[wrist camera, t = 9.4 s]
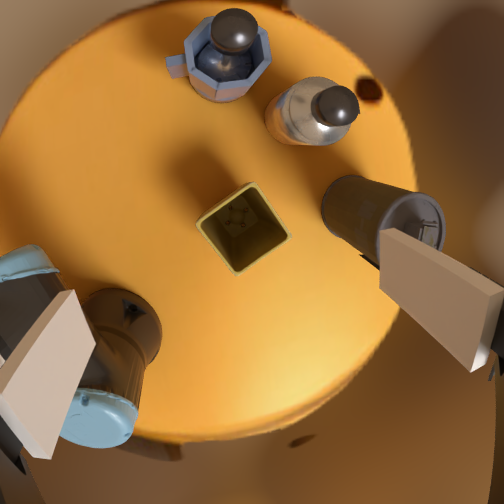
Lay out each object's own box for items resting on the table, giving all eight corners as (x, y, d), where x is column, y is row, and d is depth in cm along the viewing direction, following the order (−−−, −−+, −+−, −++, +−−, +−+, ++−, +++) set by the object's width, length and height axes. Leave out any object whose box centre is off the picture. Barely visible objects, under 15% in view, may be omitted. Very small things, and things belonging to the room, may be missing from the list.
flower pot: (245, 173, 45) (254, 180, 37) (277, 221, 48) (293, 238, 40) (195, 209, 46) (193, 223, 38) (230, 254, 49) (236, 278, 41)
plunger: (201, 92, 36) (200, 65, 23) (194, 45, 34) (191, 1, 21) (253, 84, 37) (278, 57, 24) (246, 39, 34) (266, -6, 21)
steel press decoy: (268, 148, 45) (306, 150, 28) (260, 95, 42) (293, 67, 25) (332, 140, 46) (396, 142, 29) (325, 90, 43) (386, 67, 26)
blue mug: (179, 111, 41) (170, 98, 30) (170, 53, 38) (160, 25, 27) (257, 98, 42) (276, 83, 31) (248, 42, 39) (263, 11, 28)
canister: (325, 171, 47) (398, 190, 28) (382, 179, 49) (467, 203, 30) (316, 239, 50) (378, 294, 32) (373, 242, 52) (446, 291, 33)
